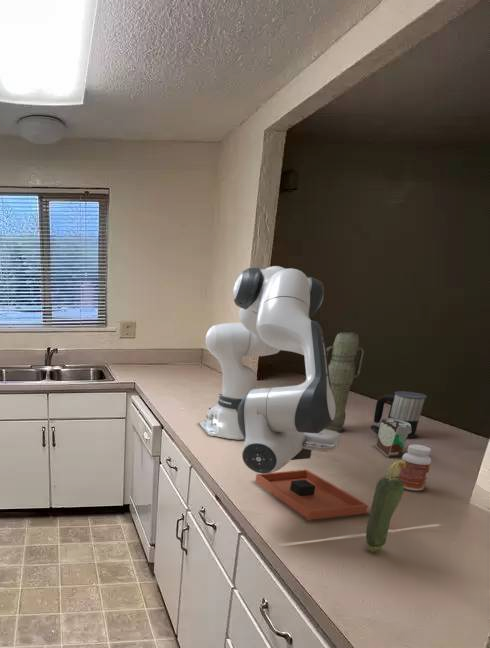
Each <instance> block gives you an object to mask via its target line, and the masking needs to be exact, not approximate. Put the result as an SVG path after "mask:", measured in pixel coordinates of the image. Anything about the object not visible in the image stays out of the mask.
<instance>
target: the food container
mask: <svg viewBox="0 0 490 648" xmlns="http://www.w3.org/2000/svg"><path fill="white" fill-rule="evenodd" d="M378 424H379V426H378V427H379V433H378V434H377V437H376V439H377V440H376V444H375V448H377V449H378V450H379V451H380V452H382V453H383V454H384V455H385V456H386V457H387V458H399V457H400V456H401V455H402V451H403V449H404V447H405V443H406V441H407V439H408V438H407V436H408V434H410V433H411V432H412V427H411V424H410V423H408V422H405V421H402V420H398V419H393V418H388V417H386V416H385V417H384V416H382V417H381V420H380V422H379V423H378Z"/></svg>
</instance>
